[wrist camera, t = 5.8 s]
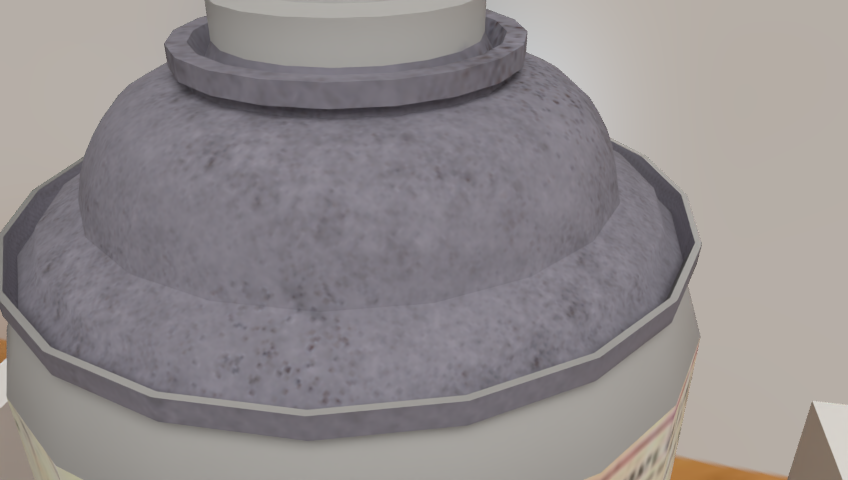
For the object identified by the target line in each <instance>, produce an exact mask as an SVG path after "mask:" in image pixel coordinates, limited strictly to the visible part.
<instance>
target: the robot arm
mask: <svg viewBox="0 0 848 480" xmlns="http://www.w3.org/2000/svg"><path fill="white" fill-rule="evenodd" d="M6 394H7V358H6V359H5V360H4V361H3V362H2V363H1V364H0V480H35V479H34V476H33V473H32V470H31V467H30V464H29V461H28V458H27V456H26V453H25V450H24V447H23V444H22V441H21V438H20V435H19V432H18V429H17V426H16V423H15V420H14V418H13V415H12V412H11V409H10V406H9V403H8V400H7V397H6ZM787 480H848V405H844V404H835V403H827V402H818V401H812V403H811V406H810V410H809V413H808V416H807V419H806V422H805V426H804V429H803V432H802V435H801V438H800V441H799V445H798V448H797V451H796V454H795V457H794V461H793V464H792V467H791V470H790V473H789V476H788V479H787Z"/></svg>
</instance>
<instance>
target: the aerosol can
mask: <svg viewBox="0 0 848 480" xmlns="http://www.w3.org/2000/svg"><path fill="white" fill-rule="evenodd" d="M205 6H206V13H207V16H204V17H200V18H197V19H195V20H193V21H191V22H189V23H187V24H185V25H183V26H181V27H179V28H177V29H175V30H173V31H172V33H171V34H170V36H169V37H168V39H167V40H166V42H165V43H164V46H165V52H166V58H167V63H165V64H163V65H161V66H160V67H158V68H156V69H154V70H153V71H151V72H149V73H147V74H145V75H144V76H142V77H141V78H139V79H137V80H136V81H134V82H133V83H131V84H129V85H128V86H127V87H126V88H125V90H124V91H122V92H121V93H120V94H119V95H118V97H117V98H116V99H115V101H114V102H113V104H112V105H111V106H110V108H109V109H108V111H107V112H106V113H105V115H104V116H103V118H102V119H101V121H100V123H99V124H98V126H97V128H96V130H95V132H94V134H93V136H92V138H91V141H90V143H89V145H88V148H87V150H86V153H85V155H84V157H82V158H81V159H79V160H78V161H77V162H75V163H74V164H72V165H70V166H69V167H67V168H66V169H64V170H63V171H61V172H60V173H58V174H57V175H56V176H54V177H52V178H51V179H49V180H47V181H46V182H44V183H43V184H41V185H40V186H38V187H37V188H35V189H34V190H32V192H31V193H30V194H29V196H28V197H27V198H26V200H25V201H24V202H23V204H22V205H21V206H20V207H19V209H18V210H17V211H16V213H15V214H14V215H13V217H12V218H11V219H10V221H9V222H8V223H7V225H6V226H5V227H4V228H3V230H2V231H1V232H0V310H1V312H2V315H3V317H4V318H5V319H6V320H7V321H8V326H7V394H6V397H7V400H8V403H9V406H10V409H11V412H12V415H13V418H14V420H15V423H16V426H17V429H18V432H19V435H20V438H21V441H22V444H23V447H24V450H25V453H26V456H27V458H28V461H29V464H30V467H31V470H32V473H33V476H34V479H35V480H670V478H671V473H672V468H673V463H674V459H675V454H676V449H677V445H678V440H679V435H680V430H681V426H682V421H683V416H684V412H685V406H686V402H687V397H688V393H689V388H690V383H691V379H692V374H693V369H694V364H695V360H696V355H697V351H698V346H699V341H700V333H699V329H698V325H697V321H696V317H695V313H694V309H693V304H692V301H691V296H690V293H689V288H688V283H689V281H690V279H691V276H692V274H693V271H694V269H695V267H696V264H697V261H698V257H699V253H700V249H701V246H702V242H701V239H700V235H699V232H698V229H697V226H696V222H695V219H694V216H693V213H692V209H691V206H690V203H689V200H688V196H687V194H686V193H684V191H683V190H682V189H680V188H679V187H678V186H677V185H676V184H675V183H674V182H673V181H672V180H671V179H670V178H669V177H668V176H667V175H666V174H664V173H663V172H662V170H660V169H659V168H658V167H657V166H656V165H655V164H654V163H653V162H652V161H651V160H650V159H649V158H648V157H647V156H645V155H643V154H641V153H639V152H637V151H635V150H633V149H631V148H629V147H627V146H625V145H623V144H621V143H619V142H618V141H616V140H614V139H612V138H610V137H609V134H608V131H607V128H606V126H605V124H604V122H603V120H602V118H601V116H600V114H599V112H598V110H597V109H596V107H595V105H594V104H593V102H592V101H591V99H590V97H589V96H588V95H586V94H585V93H584V92H583V91H582V90H581V89H580V88H579V87H578V86H577V85H576V84H575V83H574V82H572V81H571V80H570V79H569V78H568V77H567V76H566V75H565V74H564V73H562V71H560V70H559V69H558V68H557V67H555V66H554V65H552V64H550V63H548V62H546V61H545V60H543V59H541V58H538V57H536V56H534V55H531V54H529V53H527V52H526V44H527V31H526V30H525V29H524V28H523V27H522V26H521V25H520V24H519V23H518V22H516V21H515V20H514V19H512V18H509V17H506V16H504V15H501V14H498V13H496V12H493V11H490V10H488V9H486V0H205Z"/></svg>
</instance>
